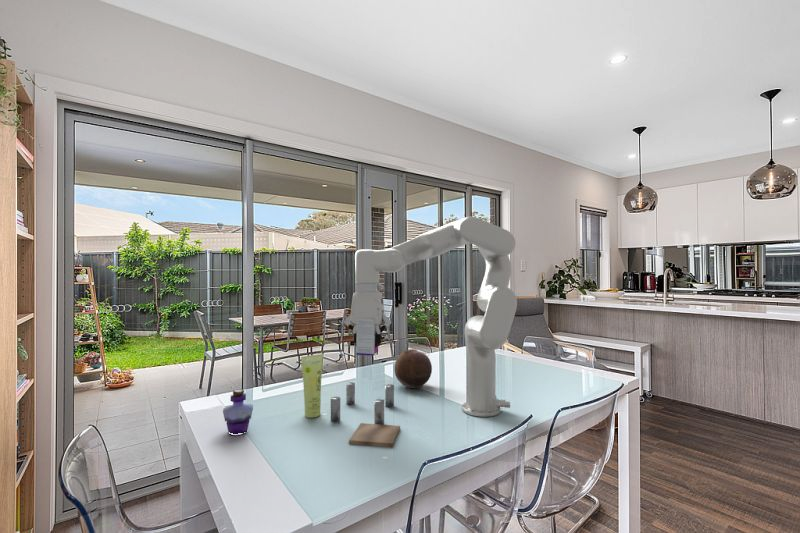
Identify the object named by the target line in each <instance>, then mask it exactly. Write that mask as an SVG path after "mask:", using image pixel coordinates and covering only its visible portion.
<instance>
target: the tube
mask: <svg viewBox="0 0 800 533" xmlns="http://www.w3.org/2000/svg"><path fill="white" fill-rule="evenodd" d="M323 360H324V353H320V354H312V355H311V354H310V355H305V356H300V361H301V371H302V382H303V383H302V384H303V398H304V399H303V401H304V403H303V404H304V417H306V418H308V419H309V418H317V417H319V416H320V415H321V402H322V400H321V398H322V397H321V396H322V394H321V393H322V375H323V374H322V373H323V372H322V371H323V362H324V361H323Z"/></svg>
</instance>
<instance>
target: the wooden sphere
mask: <svg viewBox="0 0 800 533" xmlns="http://www.w3.org/2000/svg"><path fill="white" fill-rule="evenodd" d="M396 358H397V359H396V360H395V363H394V374H395V377H396V379H397V381H398V382H399V383H400V384H401V385H402V386H404V387H406V388H411V389H417V388H421V387H422V386H424V385H425V384H426V383H428V381H429V380H430V378H431V376H432V373H433V372H432V370H433V366H432V363H431V362H432V361H431V359H430V358H429V357H428V355H427V354H426V353H424V352H423V351H421V350H419V349H414V348H413V349H408V350H407V349H406V350H404V351H402V352H401V353H400V354H399V355H398V357H396Z"/></svg>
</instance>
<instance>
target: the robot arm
mask: <svg viewBox="0 0 800 533" xmlns="http://www.w3.org/2000/svg"><path fill="white" fill-rule="evenodd" d="M469 244H472V245H474V246H476V247H477V248H478V252H479V253H480V254H481V256H482V257H483V260H484V262H485V263H484V264H485V272H484V274H483V275H484V276H483V278H482V279H483V280H482V282H481V285H480V289H479V290H478V294H477V299H476V304H477V306H478V309H480V310H481V311H482V312H483V313H484V315H481V314H480V315H474V316H472V317H469V319H468V320H467V321H466V323H465V325H464V332H463V333H464V341H465V348H466V349H465V350H466V401H465V402H464V403H462V405H461V410H462V412H464V413H465V414H468V415H470V416H474V417H481V418H482V417H484V418H486V417H487V418H488V417H494V416H497V415H499V414H500V413H501V408H505V409H506V408H507V409H509V408H511V401H506V399H499V398H497V394H496V389H497V388H496V359H497V358H496V351H495V350H498V349H500V348H501V347H503V346H504V344H506V341H508V337H509V335H510V331H511V329H512V324H513V321H514V318H515V315H516V312H517V307H518V299H517V295H516V294H515V292H514V291H513V289H511V288H509V284H510V279H511V275H512V263H511V260H510V257H509V255H510V254H512V253H513V252H514V250H515V248H516V238H515V237H514V234H513V233H512V232H510V231H509V230H507V229H505V228H502V227H500V226H498V225H495V224H493V223H491V222H488V221H486V220H484V219H482V218H478V217H475V216H471V215H469V216H466V217H463V218H459V219H456V220H454V221H452V222H449V223H446V224H444V225H442V226H439V227H436V228H433V229H432V230H429V231H426V232H424V233H422V234H421V233H420V234H419V235H417V236H416V237H414V238H411V239H410V240H408V241H405V242H402V243H399V244H398V245H394V246H392V247H390V248H386V249H380V250H379V249H377V250H376V249H367V248H366V249H358V250H357V251H355V254H354V261H355V262H354V265H355V266H354V267H355V268H354V269H355V270H354V272H355V273H354V274H355V277H354V279H355V283H354V284H355V286H354V287H355V288H354V290H355V292H353V295H352V299H351V300H352V301H351V308H350V309H351V310H350V314H349V315H348V316H347V317H346V318H345V319H344V321H343V323H344V324H345V325H346V326H347V327H348V328H349V330H350V331H351V332H352V333H353V343H354V344H355V347H356V339H357V318H366V319H374V321H375V329H376V334H375V347H378V348H379V347H380V346H381V344H382V333H383V332H384V331H385V330H386V329H387V328H388V327H389V326H390V325H391V324H392V320H391V319H390V318H389V317H388V316H387V315H386V314H385V304H384V297H383V293H382V292H380V291H381V290H384V289H385V288H384V287H385V286H384V284H381V283H380V272H385V273H397V272H399V271H401V270H402V269H403V268H404V267H405V266H407V265H411V264H413V263H416V262H421V261H424V260H428V259H432V258H435V257H438V256H441V255H442V254H443V255H444V254H445V253H447V252H450V251H452V250H455V249H457V248H460V247H462V246H465V245H469ZM383 323H384V324H383ZM381 324H383V325H381Z"/></svg>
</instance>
